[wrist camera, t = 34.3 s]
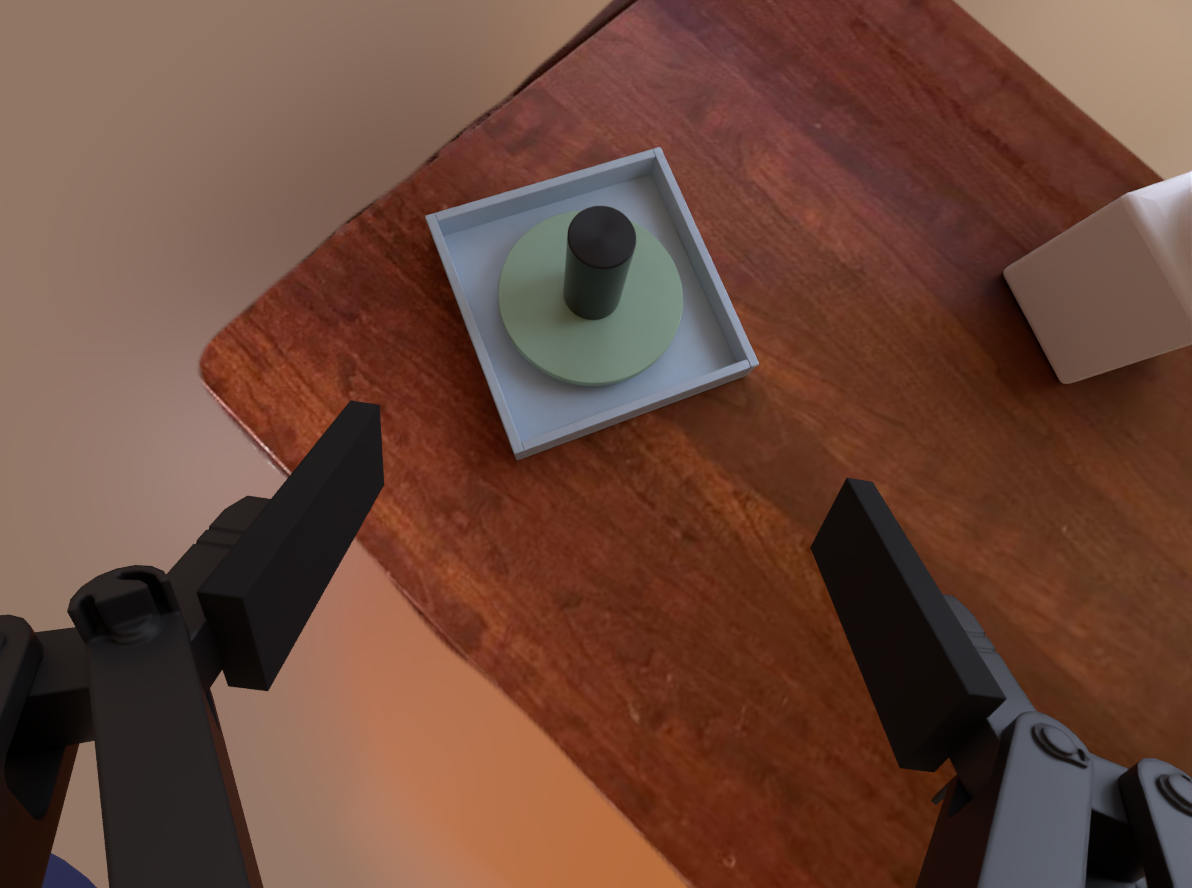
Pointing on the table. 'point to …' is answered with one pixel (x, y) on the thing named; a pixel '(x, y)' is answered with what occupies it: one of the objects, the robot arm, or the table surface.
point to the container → (1113, 283)
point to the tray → (550, 406)
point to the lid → (590, 297)
